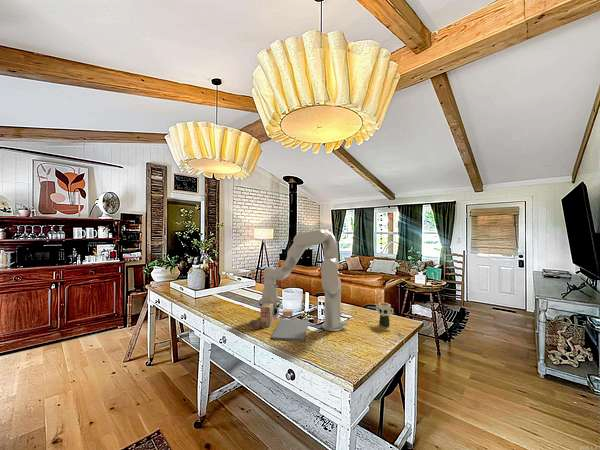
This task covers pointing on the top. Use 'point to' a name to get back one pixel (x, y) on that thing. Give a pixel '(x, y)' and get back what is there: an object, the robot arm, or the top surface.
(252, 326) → the walnut brick
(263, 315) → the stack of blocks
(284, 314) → the terracotta brick
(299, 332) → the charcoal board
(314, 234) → the robot arm
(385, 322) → the beige and green figurine
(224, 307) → the top surface
